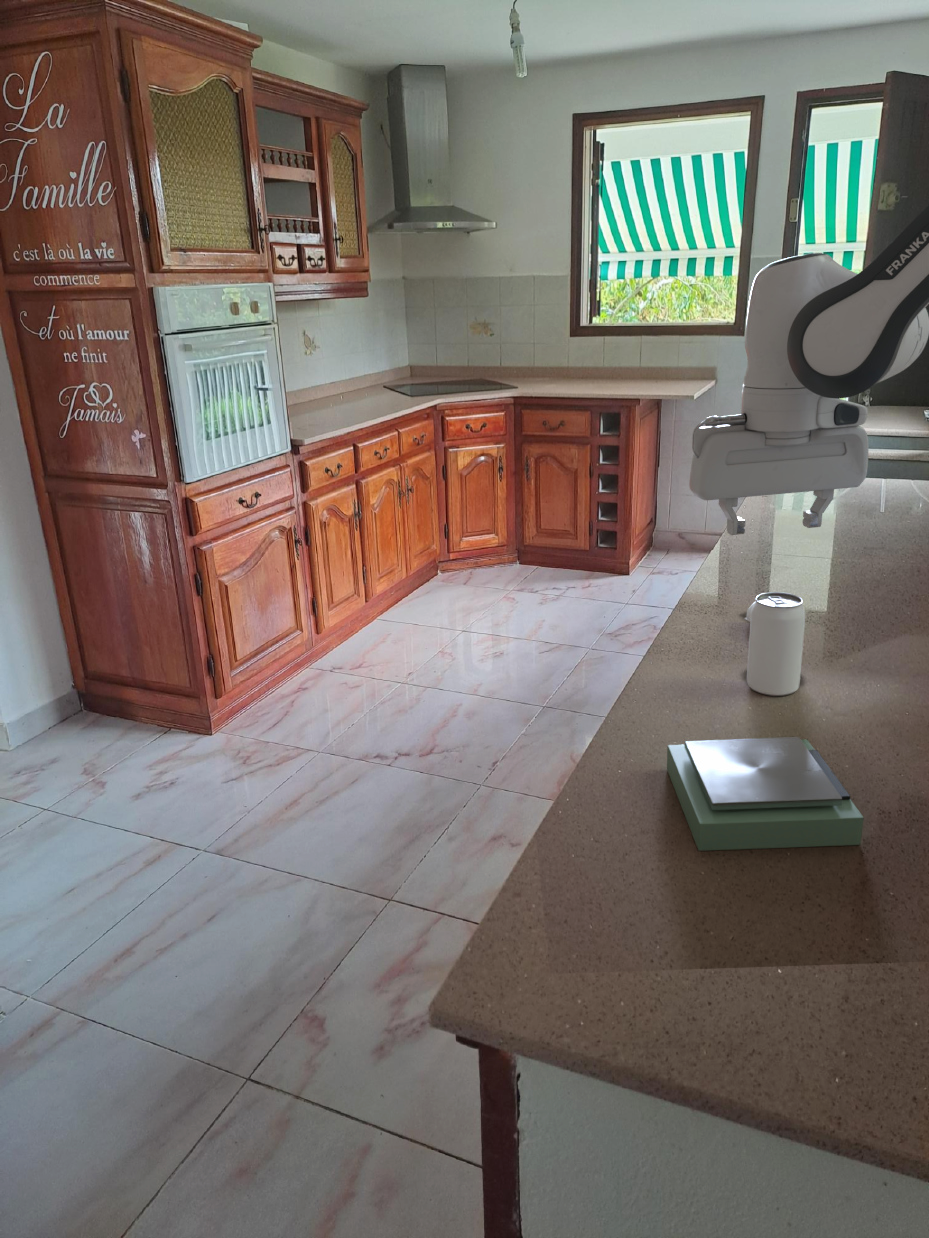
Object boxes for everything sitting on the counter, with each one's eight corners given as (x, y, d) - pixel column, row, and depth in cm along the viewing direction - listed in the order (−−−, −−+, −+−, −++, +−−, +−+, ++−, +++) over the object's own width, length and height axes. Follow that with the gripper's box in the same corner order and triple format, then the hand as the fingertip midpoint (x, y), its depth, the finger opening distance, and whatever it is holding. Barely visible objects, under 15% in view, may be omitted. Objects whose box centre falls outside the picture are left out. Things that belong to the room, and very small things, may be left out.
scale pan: (798, 743, 93) (798, 736, 93) (841, 805, 82) (842, 798, 82) (684, 747, 94) (684, 741, 93) (712, 810, 82) (712, 803, 82)
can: (756, 698, 111) (762, 609, 107) (739, 677, 117) (744, 592, 113) (807, 695, 111) (815, 606, 107) (787, 674, 117) (794, 589, 113)
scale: (805, 763, 96) (807, 735, 95) (860, 845, 82) (864, 813, 81) (666, 769, 96) (667, 741, 95) (698, 851, 82) (699, 820, 81)
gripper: (704, 421, 95) (699, 545, 100) (882, 407, 97) (868, 529, 102) (682, 414, 101) (679, 531, 106) (851, 401, 103) (839, 516, 108)
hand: (773, 530), depth 104 cm, fingers open, 8 cm apart
